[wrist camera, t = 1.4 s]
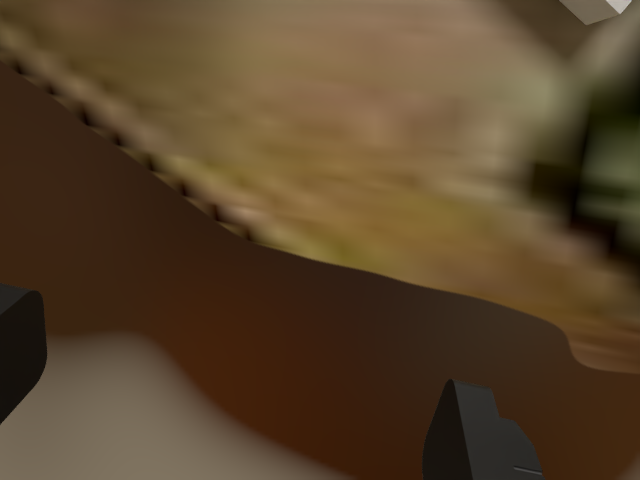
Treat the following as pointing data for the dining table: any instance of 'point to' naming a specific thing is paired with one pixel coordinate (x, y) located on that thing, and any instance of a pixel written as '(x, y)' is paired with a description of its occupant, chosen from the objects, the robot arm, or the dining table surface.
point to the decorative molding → (595, 9)
